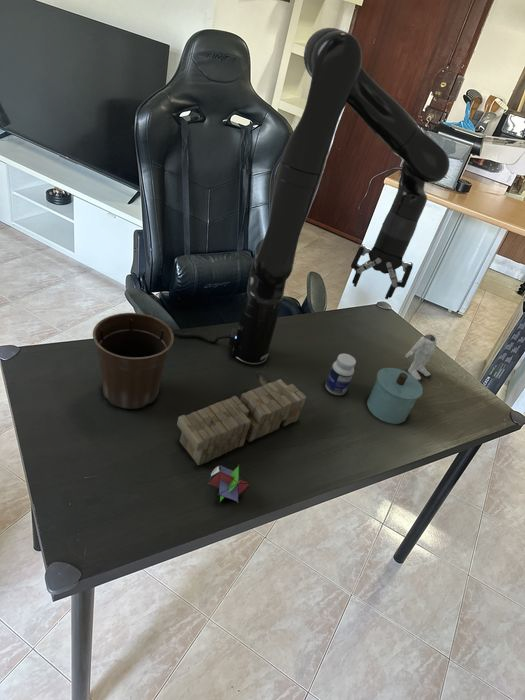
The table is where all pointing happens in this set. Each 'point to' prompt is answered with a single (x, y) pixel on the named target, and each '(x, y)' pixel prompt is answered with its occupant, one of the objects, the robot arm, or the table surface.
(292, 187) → the robot arm
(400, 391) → the pot
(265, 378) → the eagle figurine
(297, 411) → the block tower
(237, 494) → the geometric puzzle
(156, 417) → the table surface
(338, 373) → the pill bottle
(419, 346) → the toy creature
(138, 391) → the plant pot
